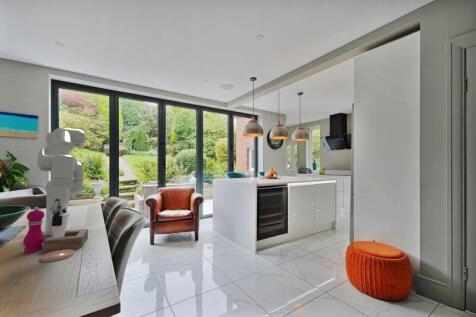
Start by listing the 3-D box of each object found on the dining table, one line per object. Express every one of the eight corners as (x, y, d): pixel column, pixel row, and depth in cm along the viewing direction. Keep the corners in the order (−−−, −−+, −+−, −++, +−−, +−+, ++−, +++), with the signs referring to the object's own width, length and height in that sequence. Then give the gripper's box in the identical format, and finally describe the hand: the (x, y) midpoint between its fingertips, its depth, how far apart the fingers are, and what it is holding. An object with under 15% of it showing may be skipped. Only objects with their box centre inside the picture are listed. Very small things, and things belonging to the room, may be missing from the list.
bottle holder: (55, 241, 108) (55, 231, 108) (87, 237, 114) (88, 228, 115) (43, 252, 94) (44, 241, 94) (81, 247, 100) (81, 237, 100)
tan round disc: (45, 254, 92) (45, 251, 92) (76, 249, 97) (76, 247, 97) (35, 263, 82) (35, 261, 83) (70, 258, 87) (70, 256, 87)
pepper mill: (30, 254, 92) (33, 208, 93) (17, 252, 93) (21, 207, 95) (48, 248, 99) (50, 206, 100) (36, 246, 101) (39, 205, 102)
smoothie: (46, 239, 86) (48, 205, 87) (51, 235, 92) (53, 203, 93) (66, 237, 89) (68, 204, 90) (69, 233, 95) (71, 202, 96)
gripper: (57, 182, 98) (55, 220, 97) (43, 184, 82) (40, 230, 81) (77, 181, 101) (75, 219, 100) (67, 183, 86) (64, 227, 85)
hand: (59, 223), depth 91 cm, fingers closed on smoothie, 6 cm apart
